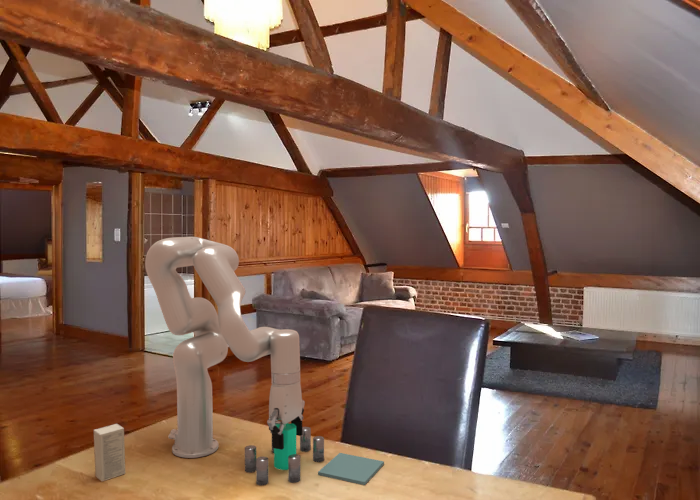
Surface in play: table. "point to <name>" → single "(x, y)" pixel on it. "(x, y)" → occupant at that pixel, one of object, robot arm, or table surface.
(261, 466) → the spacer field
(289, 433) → the candle
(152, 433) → the table surface
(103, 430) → the skincare box
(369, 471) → the mat
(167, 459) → the table surface
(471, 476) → the table surface
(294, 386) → the robot arm
